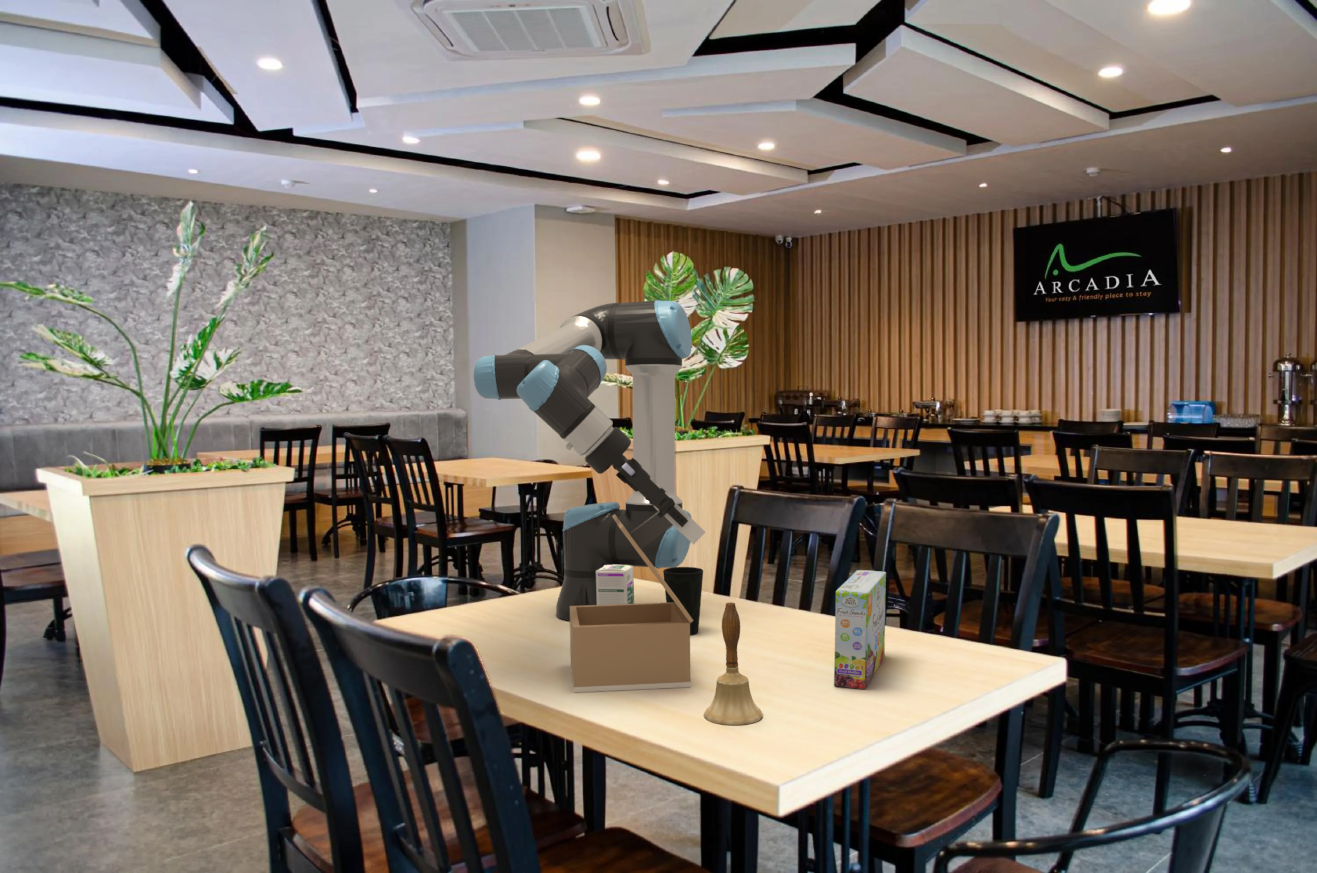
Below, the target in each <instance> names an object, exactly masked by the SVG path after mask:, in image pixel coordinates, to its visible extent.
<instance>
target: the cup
mask: <svg viewBox="0 0 1317 873" xmlns="http://www.w3.org/2000/svg"><path fill="white" fill-rule="evenodd" d="M703 578H704V569H702V568H699V567H695V566H694V567H692V566H677V567H673V568H664V569H663V580H664V581H665V582H666V584H667V585H668V586H669V588H670V589H671V590H672V592H673V593H674V594H675V596H676V597H677V598H678V600H679V601H680V603H681V604H682V605H683V607H684V608H685V610H686V611H687V612H688V614H689V615H690V617H691V618H692V619H693V621H692V622H691V623H690V636H695V635H697V634H699V631H700V630H699V629H700V628H699V627H700V615H701V605H702V604H701V603H702V592H703V591H702V590H703V580H704V579H703ZM664 593H665V603H671V602H674V600H673V599H672V598H671V596H670V595H669V594H668V592H667V591H666V590H665V589H664Z"/></svg>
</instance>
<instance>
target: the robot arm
mask: <svg viewBox="0 0 1317 873" xmlns="http://www.w3.org/2000/svg"><path fill="white" fill-rule="evenodd" d="M692 336H693V335H692V330H691V325H690V322H689V318H688V315H687V313H686V311H685V309H684V307H683V306H682V305H681V304H680V303H678V302H677V301H673V300H658V299H656V300H648V301H631V302H629V301H628V302H611V303H606V304H600V305H598V306H594V307H592V308H588V309H586V310H584V311H581V312H579V313H577V314H574V315H573V316H571V317H568V318H566V319H565V320H564V321H563V322H562V323H561V325H560V326H559V328H558V329H556V330H554V331H551V332H550V333H548V334H545V335H543V336H542V337H539V338H537V339H535V340H533V341H532V342H530V343H527V344H525V345H523V346H521V347H519V348H516V349H515V350H513V351H511V352H508V353H506V354H493V355H484V356H482V357H480V358H479V359H478V360H477V361H476V363H475V365H474V368H473V369H474V370H473V381H474V387H475V390H476V392H477V393H478V394H479V396H480V397H482V398H484V399H491V400H498V401H501V400H516V399H517V400H519V399H521V400H522V401H523V402H524V403H525V404H526V405H527V407H528V408H529V410H530V411H532V412H533V413H535V414H536V415H537V416H538V417H539V418H540V419H541V420H542V421H543V422H544V423H545V424H546V425H548V426H549V427H550V428H551V429H552V430H553V431H554V432H555V433H556V434H557V435H558V436H559V437H560V438H561V440H564V441H565V442H566V445H565V449H567V450H571V449H572V448H573V450H574V451H575V452H576V453H577V454H578V455H579V456H580V457H582V456H585V457H584V461H585V462H586V464H587V465H589V466H590V467H591V469H593V470H594V471H595V472H596V473H597V474H598V475H599V474H601V475H602V474H604V473H605V472H607V470H608V469H610V468H611V467H612V468H613V469H614V470H616V471H617V473H616V474H615V475H616V477H617V479H619V480H621V482H623V483H624V484H627V486H629V488H631V489H632V494H631V495H630V496H629V497H628V498H627V499H626V500H625V509H621V505H620V504H619V502H618V501H607V502H599V503H591V504H585V505H579V506H574V507H571V508H568V509H567V510H566V511H565V512H564V514H563V528H562V532H563V533H562V534H563V536H562V538H563V564H564V565H563V570H564V573H563V574H564V575H563V578H564V579H563V581H562V584H561V588H560V591H559V595H558V598H557V602H556V605H555V606H556V607H555V611H556V612H555V613H556V617H557V618H559V619H561V620H564V621H569V622H570V606H587V605H597V594H596V571H597V570H599V569H600V568H602V567H604V565H617V564H620V565H631V566H633V568H634V567H637V568H641V567H642V568H649V567H648V565H647V564H646V563H645V561H644V560H643V559H642V557H641V556H640V555H639V553H638V552H637V551H636V549H635V548H634V547H633V545H632V544H631V543H630V541H629V540H628V539H627V537H626V536H625V535H624V533H623V532H622V531H621V529H620V528H619V526H618V525H617V523H616V522H615V520H614V519H613V517H612V516H613V515H614V514H615V515H616V516H617V518H618V519H619V520H620V522H621V523H622V524H623V526H624V527H625V528H626V530H627V531H628V532H629V533H630V532H631V531H633V530H634V529H635V528H637V527H638V526H639V525H641V524H642V523H643V522H645V521H646V520H647V519H649V518H650V517H651V516H653V515H654V514H655V513H657V512H658V511H660V512H659V513H658V514H657V515H658V516H659V517H660V518H661V519H662V518H663V517H665V518H667V519H668V520H669V521H670V522H671V523H672V524H673V526H671V527H670V528H669V529H667V530H666V531H665V532H663V533H662V534H661V535H659V536H658V537H657V538H655V539H654V540H653V541H651V542H650V543H649V544H647V545H646V546H645V547H643V548H642V549H641V550H642V551H643V553H644V554H645V555H646V557H647V558H648V559H649V561H650V562H651V563H652V565H653V566H654V567H655V569H656V570H657V569H659V570H660V569H667V568H673V567H680V565H681V564H682V563H683V562H684V561H685V559H686V556H688V555H687V554H688V552H689V550H690V546H691V544H692V545H695V544H696V543H697V542H698V541H699V540H700V539H701V538H702V536H704V534H706V531H705V530H704V529H703V528H702V527H701V526H700V525H699V524H698V523H697V522H696V521H695V520H694V519H693V518H692V514H691V513H690V512H689V511H688V510H686V509H683V500H682V499H681V498H680V497H679V496H678V495H677V493H676V461H675V460H676V455H675V454H676V451H675V450H676V447H675V446H676V444H675V443H676V431H675V430H676V429H675V428H676V425H675V424H676V422H675V421H676V416H675V415H676V414H675V413H676V411H675V410H676V408H675V405H676V402H675V401H676V400H675V398H676V396H675V395H676V394H675V393H676V392H675V391H676V388H675V387H676V384H675V381H676V379H675V378H676V375H677V373H679V372H680V370H682V368H683V360H684V359H687V358H689V357H690V356H691V353H692V346H693V339H692V338H693V337H692ZM606 360H624V361H625V362H624V365H625V366H624V367H625V369H626V370H627V371H628V372H629V374H631V376H632V440H631V439H630V437H628V435H626V434H625V433H624V432H623V431H622V430H621V429H620V428H619V427H618V426H617V427H616V426H615V427H613V420H612V419H611V418H609V416H607V414H606V413H604V412H603V411H602V410H601V409H600V408H599V407H598V406H597V405H596V404H594V403H593V402H592V401H591V400H590V399H589V398H590V396H591V395H592V394H593V393H594V392H595V391H596V390H597V389H598V388H600V387H599V386H600V385H601V382H602V381H604V379H605V377H606V375H607V370H608V368H607V367H608V366H607V362H606ZM631 444H632V458H631V459H628V458H627V457H626V456H625V455H624V453H625V452H627V451H628V449H629V447H631Z"/></svg>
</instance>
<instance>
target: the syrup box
mask: <svg viewBox="0 0 1317 873" xmlns="http://www.w3.org/2000/svg"><path fill="white" fill-rule="evenodd" d="M634 583H635V580H634V566H631V565H620V564H617V565H604V567H602V568H600V569H599V570H597V571H596V594H597V605H615V604H635V586H634V585H635V584H634Z"/></svg>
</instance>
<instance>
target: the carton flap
mask: <svg viewBox="0 0 1317 873" xmlns="http://www.w3.org/2000/svg"><path fill="white" fill-rule="evenodd" d="M659 512H660V511H658V512H657V513H655V514H654V515H653V516H651V517H650V518H649V519H647V520H646V521H645V522H643V523H642V524H641V525H639V526H638V527H637V528H635V529H634V530H633V531H631V532H630V533H629V532H628V531H627V530H626V528H625V527H624V526H623V524H622V523H621V522H620V520H619V519H618V518H617V516H616V515H615V514H614V515H613V516H612V517H613V519H614V520H615V522H616V523H617V525H618V526H619V528H620V529H621V531H622V532H623V533H624V535H625V536H626V537H627V539H628V540H629V541H630V543H631V544H632V545H633V547H634V548H635V549H636V551H637V552H638V553H639V555H640V556H641V557H642V559H643V560H644V561H645V563H646V564H647V565H648V567H647V568H649V570H650V571H651V572H652V573H653V575H654V576H655V577H656V579H657V581H658V582H659V583H660V584H661V586H662V587H663V588H664V591H665V590H666V591H667V592H668V594H669V595H670V596H671V598H672V599H673V600H674V602H675V603H676V604H677V606H678V607H679V608H680V610H681V611H682V613H683V614H684V615H685V617H686V618H687V619H688V621H689V622H690V623H691V622H692V621H693V619H692V618H691V617H690V615H689V614H688V612H687V611H686V610H685V608H684V607H683V605H682V604H681V603H680V601H679V600H678V598H677V597H676V596H675V594H674V593H673V592H672V590H671V589H670V588H669V586H668V585H667V584H666V582H665V581H664V577H662V576H661V574H660V573H659V571H658V570H657V568H656V567H654V566H653V565H652V563H651V562H650V561H649V559H648V558H647V557H646V555H645V554H644V553H643V551H642V550H641V549H642V548H643V547H645V546H646V545H647V544H649V543H650V542H651V541H653V540H654V539H655V538H657V537H658V536H659V535H661V534H662V533H663V532H665V531H666V530H667V529H669V528H670V527H671V526H673V524H672V523H671V522H670V521H669V520H668V519H667V518H665V517H663V518H662V519H661V518H660V517H659V516H658V515H657V514H658V513H659Z"/></svg>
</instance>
